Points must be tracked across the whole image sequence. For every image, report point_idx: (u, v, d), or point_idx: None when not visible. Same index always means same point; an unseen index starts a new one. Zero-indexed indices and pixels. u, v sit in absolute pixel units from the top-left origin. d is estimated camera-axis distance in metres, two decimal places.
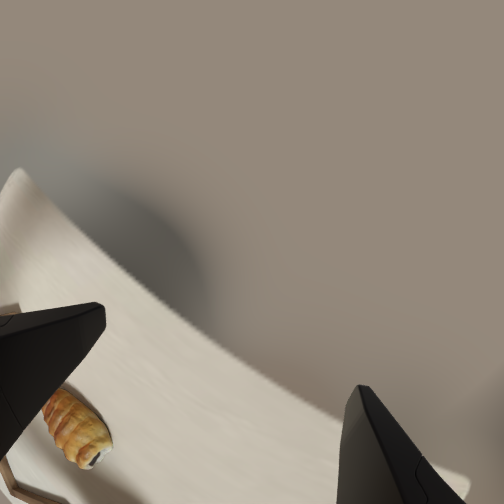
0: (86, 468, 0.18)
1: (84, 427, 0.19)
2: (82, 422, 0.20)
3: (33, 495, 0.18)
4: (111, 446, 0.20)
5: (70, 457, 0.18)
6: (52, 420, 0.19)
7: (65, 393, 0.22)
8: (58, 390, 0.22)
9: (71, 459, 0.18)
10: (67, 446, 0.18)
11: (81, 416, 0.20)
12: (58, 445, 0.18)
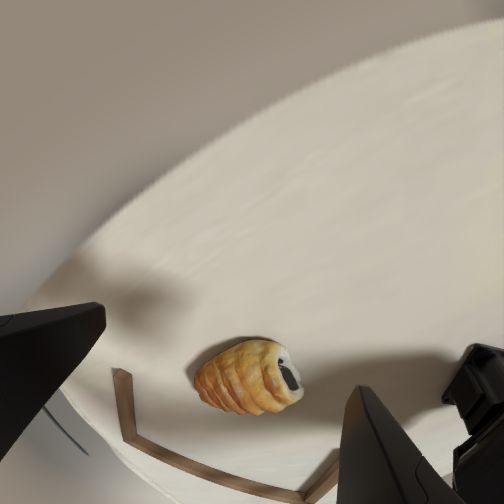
0: (297, 396, 0.20)
1: (241, 363, 0.20)
2: (235, 362, 0.21)
3: (318, 482, 0.25)
4: (281, 346, 0.21)
5: (274, 407, 0.20)
6: (224, 400, 0.21)
7: (204, 365, 0.23)
8: (198, 371, 0.23)
9: (278, 407, 0.20)
10: (257, 401, 0.20)
11: (229, 359, 0.21)
12: (256, 412, 0.21)
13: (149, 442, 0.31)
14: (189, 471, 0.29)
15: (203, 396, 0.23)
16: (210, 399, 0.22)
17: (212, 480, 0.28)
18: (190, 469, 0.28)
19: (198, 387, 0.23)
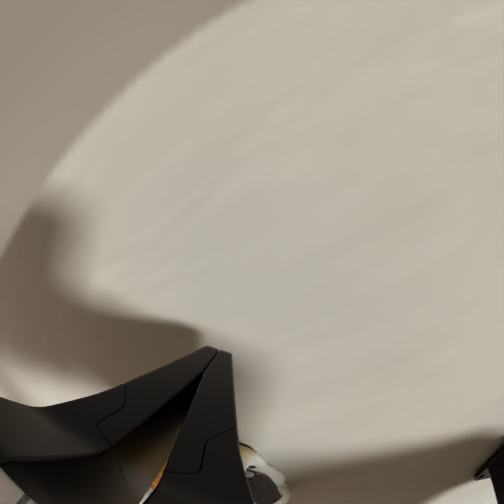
0: None
1: None
2: None
3: None
4: (248, 455, 0.11)
5: None
6: None
7: None
8: None
9: None
10: None
11: None
12: None
13: None
14: None
15: None
16: None
17: None
18: None
19: None
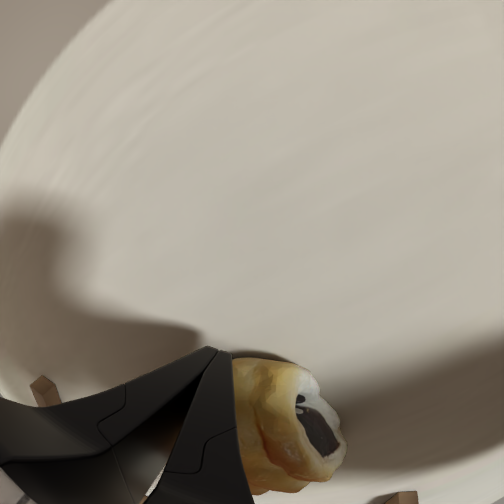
0: (337, 463, 0.08)
1: None
2: None
3: None
4: (300, 371, 0.09)
5: (292, 486, 0.08)
6: None
7: None
8: None
9: (299, 486, 0.08)
10: (256, 481, 0.08)
11: None
12: (256, 492, 0.09)
13: None
14: None
15: None
16: None
17: None
18: None
19: None
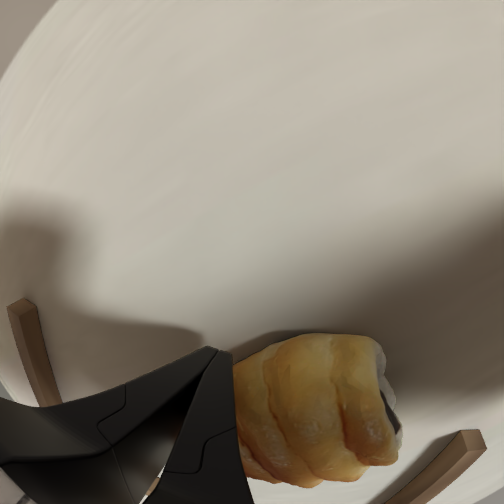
0: (399, 445, 0.08)
1: (287, 397, 0.07)
2: (270, 392, 0.08)
3: None
4: (375, 344, 0.08)
5: (354, 474, 0.07)
6: None
7: None
8: None
9: (360, 473, 0.07)
10: (322, 471, 0.07)
11: (253, 385, 0.08)
12: (311, 484, 0.08)
13: None
14: None
15: None
16: None
17: None
18: None
19: None
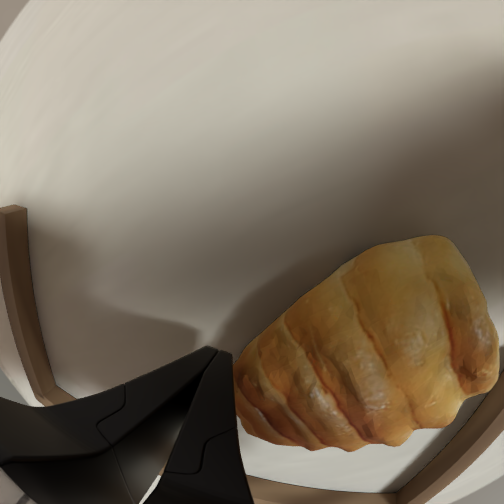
0: None
1: (382, 305, 0.06)
2: (358, 307, 0.07)
3: (439, 462, 0.09)
4: (454, 245, 0.07)
5: (452, 411, 0.06)
6: (319, 429, 0.07)
7: (250, 348, 0.09)
8: (235, 366, 0.09)
9: (457, 410, 0.06)
10: (423, 408, 0.06)
11: (334, 305, 0.07)
12: (402, 439, 0.06)
13: None
14: None
15: (254, 426, 0.09)
16: (275, 432, 0.08)
17: None
18: None
19: (239, 406, 0.09)
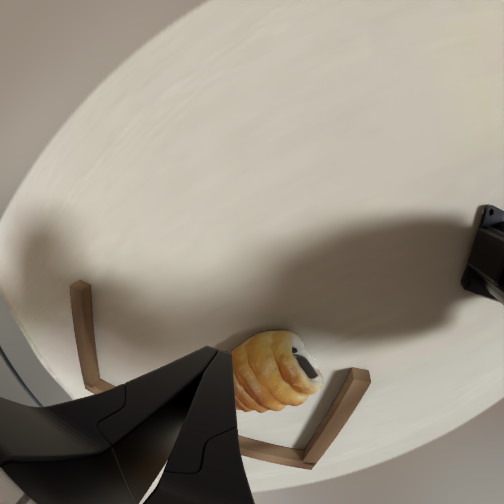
0: (317, 384, 0.19)
1: (254, 358, 0.19)
2: (248, 357, 0.20)
3: (319, 430, 0.23)
4: (293, 334, 0.20)
5: (295, 398, 0.19)
6: (242, 399, 0.20)
7: None
8: None
9: (299, 399, 0.19)
10: (276, 394, 0.19)
11: (241, 355, 0.20)
12: (277, 407, 0.20)
13: (113, 387, 0.27)
14: None
15: None
16: None
17: None
18: None
19: None
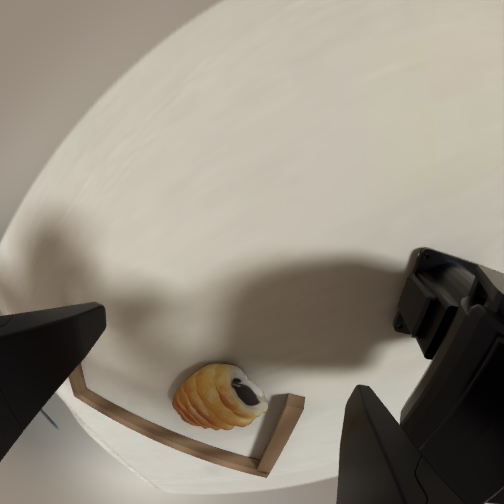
0: (258, 410, 0.22)
1: (201, 387, 0.22)
2: (197, 385, 0.22)
3: (267, 444, 0.25)
4: (233, 368, 0.22)
5: (239, 421, 0.21)
6: (197, 419, 0.23)
7: (178, 390, 0.25)
8: (173, 396, 0.25)
9: (242, 421, 0.21)
10: (222, 417, 0.21)
11: (192, 383, 0.23)
12: (226, 427, 0.22)
13: (97, 396, 0.30)
14: (134, 428, 0.28)
15: (182, 417, 0.24)
16: (188, 419, 0.24)
17: (157, 439, 0.28)
18: (134, 425, 0.28)
19: (176, 409, 0.24)
